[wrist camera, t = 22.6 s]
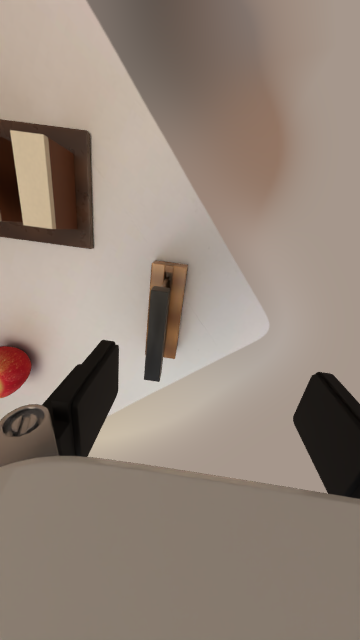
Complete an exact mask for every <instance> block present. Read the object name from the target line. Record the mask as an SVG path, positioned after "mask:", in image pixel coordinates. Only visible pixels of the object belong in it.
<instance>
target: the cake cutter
mask: <svg viewBox="0 0 360 640" xmlns="http://www.w3.org/2000/svg"><path fill="white" fill-rule="evenodd" d="M170 280H171V274H168V276H167V277H166V279H165V280H164V282H163V284H162V285H161V287H159V286H153V288H152V289H151V292H150V305H149V319H148V333H147V346H146V360H145V374H144V380H151V381H158V382H159V381H160V376H161V372H162V363H163V354H164V344H165V335H166V326H167V317H168V308H169V299H170V289H171V288H170Z"/></svg>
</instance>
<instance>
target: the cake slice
mask: <svg viewBox="0 0 360 640" xmlns="http://www.w3.org/2000/svg"><path fill="white" fill-rule="evenodd" d="M10 133H11V140H12V147H13V155H14V162H15V169H16V176H17V183H18V190H19V197H20V204H21V211H22V218H23V225H26V226H33V227H40V228H48V229H77V212H76V193H75V174H74V155H73V153H72V152H70V151H68V150H67V149H65V148H64V147H62V146H61V145H59V144H57V143H56V142H54V141H53V140H51V139H50V138H48V137H47V136H45V135H43V134H36V133H29V132H21V131H13V130H10Z"/></svg>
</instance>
